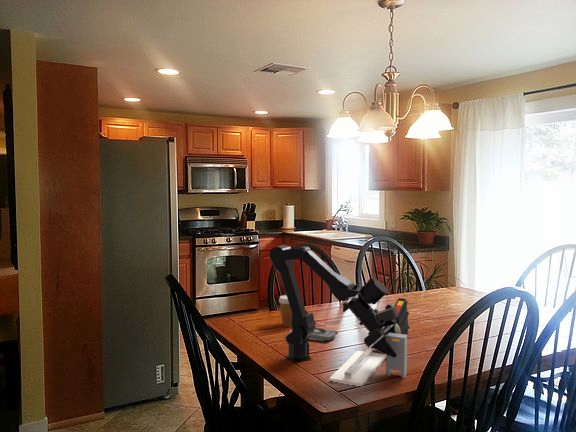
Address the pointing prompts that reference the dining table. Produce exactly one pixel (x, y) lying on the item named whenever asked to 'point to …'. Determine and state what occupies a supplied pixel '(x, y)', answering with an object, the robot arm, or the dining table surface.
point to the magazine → (402, 315)
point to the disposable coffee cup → (285, 311)
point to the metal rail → (358, 364)
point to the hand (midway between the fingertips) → (399, 352)
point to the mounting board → (362, 373)
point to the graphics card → (322, 334)
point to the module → (400, 348)
